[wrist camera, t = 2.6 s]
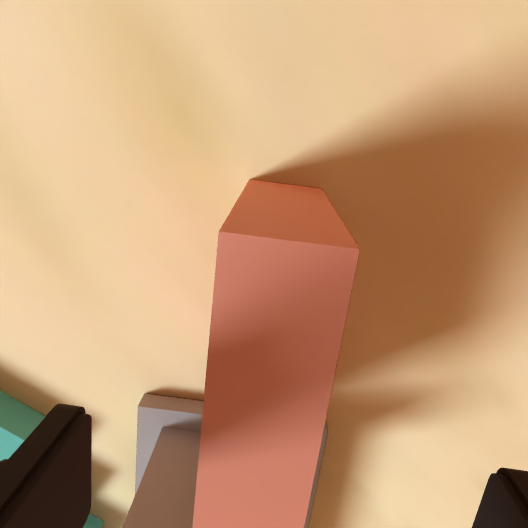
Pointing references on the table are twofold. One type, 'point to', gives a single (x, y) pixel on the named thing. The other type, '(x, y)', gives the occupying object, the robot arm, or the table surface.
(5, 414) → the alien figure
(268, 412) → the salmon pink rectangular block
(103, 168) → the table surface
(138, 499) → the track
